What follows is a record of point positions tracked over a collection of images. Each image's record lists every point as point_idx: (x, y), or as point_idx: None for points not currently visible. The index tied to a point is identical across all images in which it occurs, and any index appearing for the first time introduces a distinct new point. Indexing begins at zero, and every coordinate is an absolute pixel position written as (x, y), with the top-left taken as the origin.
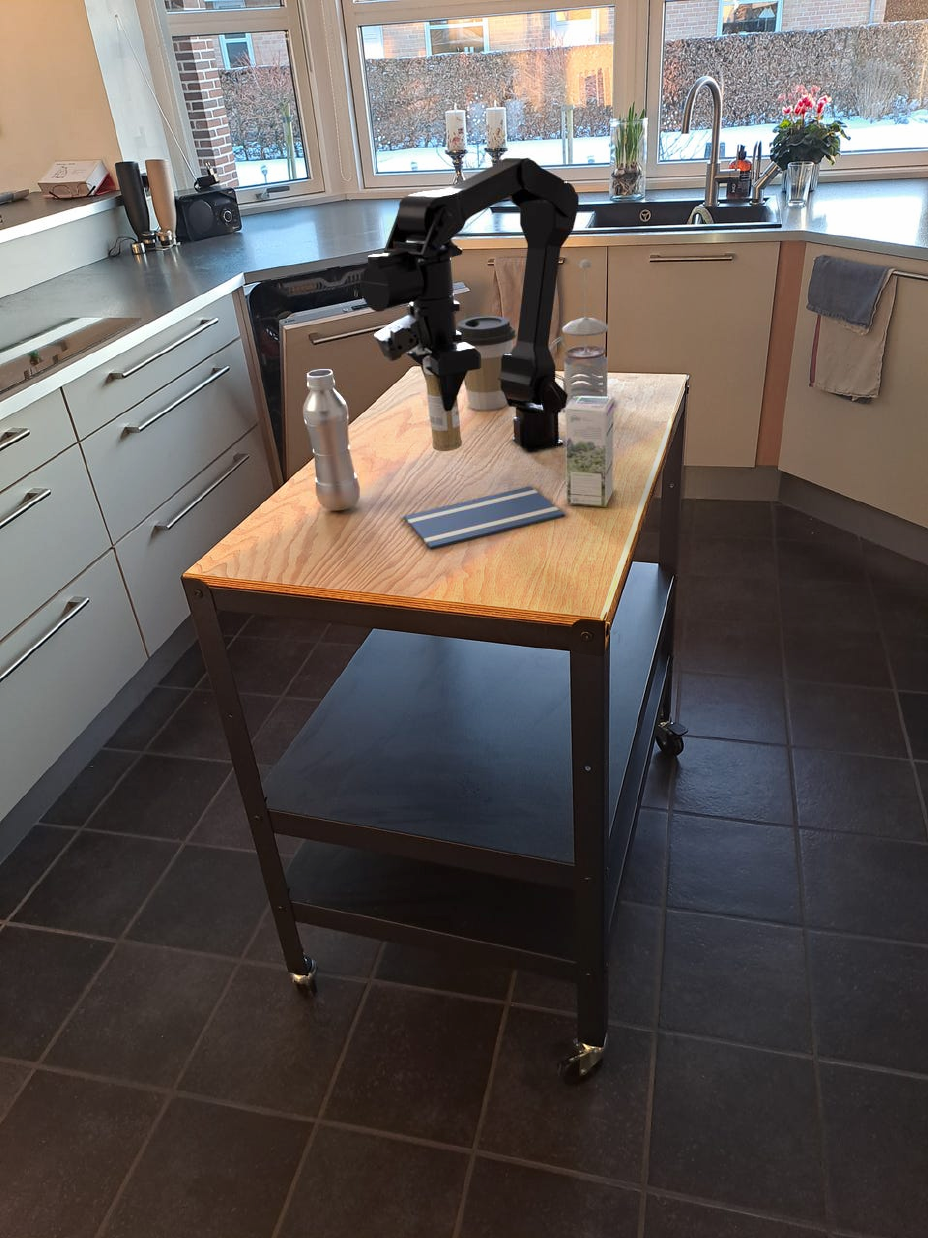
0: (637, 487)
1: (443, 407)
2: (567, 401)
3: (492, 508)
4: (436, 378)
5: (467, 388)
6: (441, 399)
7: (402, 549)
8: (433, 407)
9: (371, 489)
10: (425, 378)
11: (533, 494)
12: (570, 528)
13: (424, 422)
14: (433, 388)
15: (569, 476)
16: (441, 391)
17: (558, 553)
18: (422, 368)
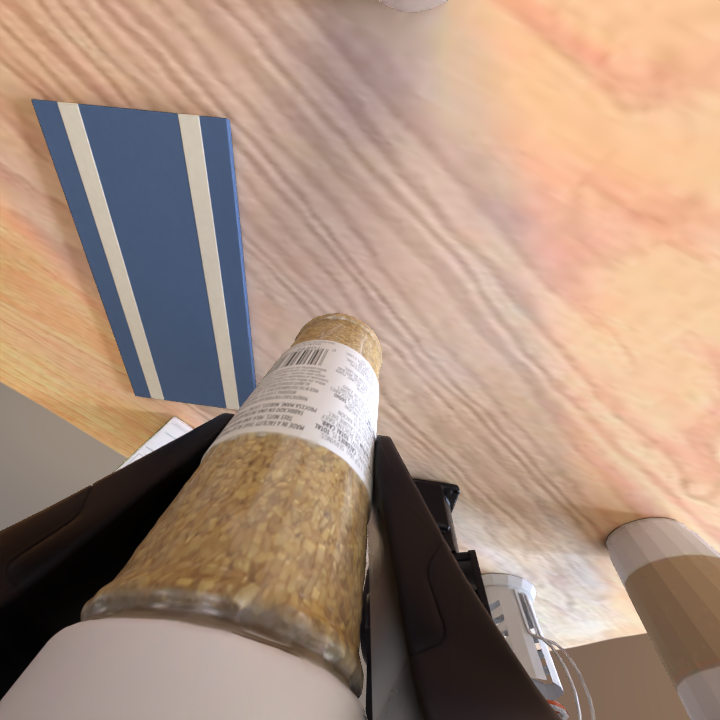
0: None
1: (223, 420)
2: (506, 591)
3: (191, 319)
4: (10, 590)
5: (708, 558)
6: (191, 446)
7: (46, 18)
8: (262, 392)
9: (467, 118)
10: (433, 546)
11: (222, 399)
12: (94, 377)
13: (713, 433)
14: (191, 484)
15: (134, 452)
16: (88, 486)
17: (6, 319)
18: (460, 657)
